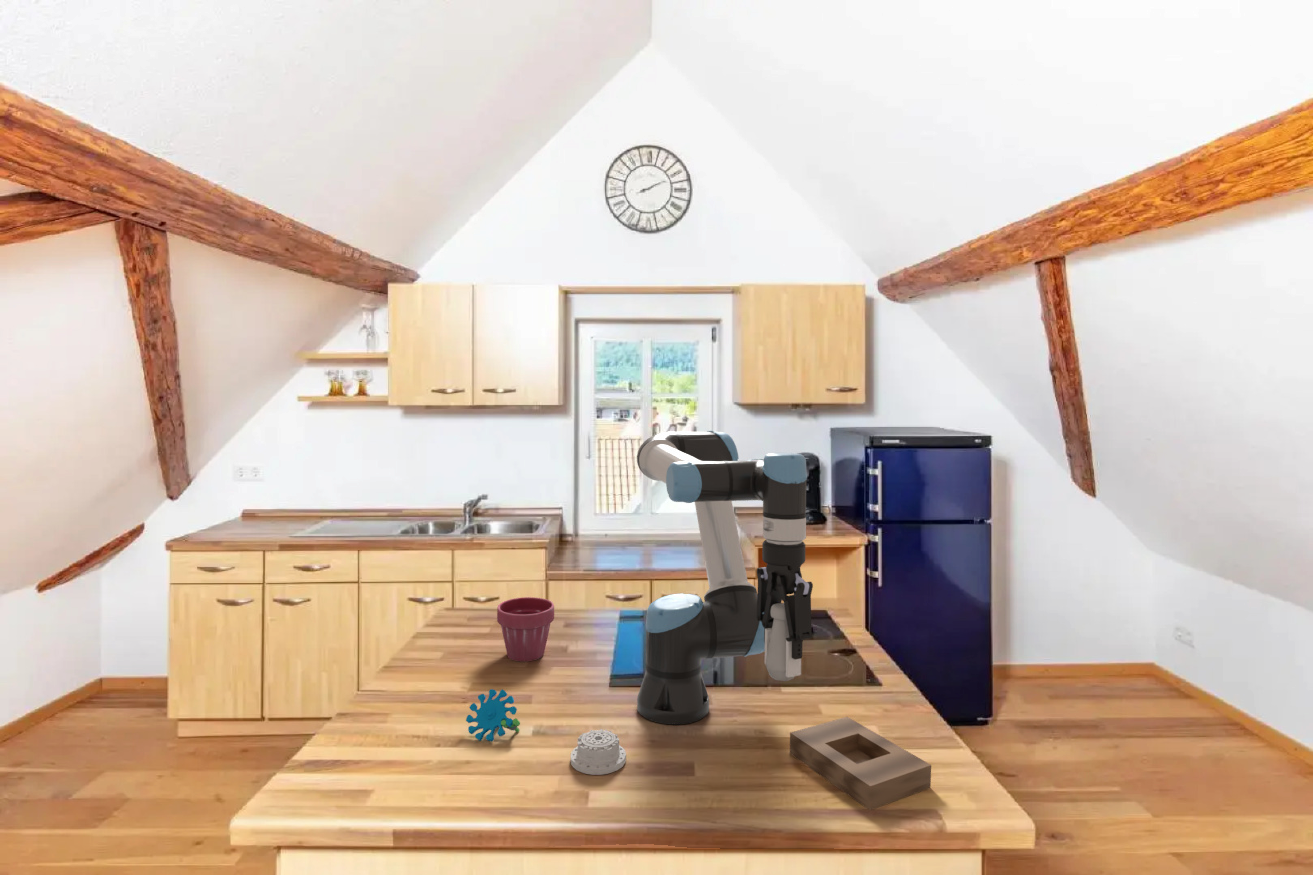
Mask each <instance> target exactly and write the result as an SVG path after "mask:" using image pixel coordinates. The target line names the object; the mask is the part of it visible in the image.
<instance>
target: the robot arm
mask: <svg viewBox="0 0 1313 875" xmlns="http://www.w3.org/2000/svg"><path fill="white" fill-rule="evenodd" d="M636 464H637V466H638V467H637V468H638V469H639V470H640V472H641V473H642V474H643V475H644V476H646V477H647V478H648V479H651V480H653V481H658V482H659V481H661V482H663V483H664V484H666V492H667V495H668V497H669V499H670V500H671V501H672V502H675V503H686V504H690V503H694V505H695V506H694V507H695V512H696V516H697V523H698V528H699V535H700V541H701V546H702V552H703V559H704V563H705V569H706V576H707V580H708V590H707V591H706V592H705V593H704V596H703V599H704V600H703V599H702V598H701V597H700V596H699V595H697V594H693V593H686V594H685V593H682V592H681V593H673V594H668V595H664V596H661V597H659V598H657V599H655V600H654V601H652V602H651V603H650V604H649V605H648V608H647V610H646V618H645V626H644V627H645V673H644V676H643V679H642V681H641V684H640V688H639V691H638V693H637V699H636V701H637V702H636V703H637V704H636V710H637V713H639V715H640V716H641V717H643V718H644V719H646V720H649V721H651V722H653V723H657V724H665V725H685V724H691V723H694V722H695V723H696V722H698V721H700V720H702V719H703V718H705V717H706V716H707V715H708V714H709V712H710V711H709V710H710V698H709V694H708V691H707V688H706V684H705V682H704V681H705V680H704V677H703V675H702V660H706V659H707V660H708V659H720V658H731V657H744V658H745V657H746V658H747V657H748V656H753V655H754V656H755V655H759V654H762V653H764V665H765V666H766V658H767V652H768V647H769V642H770V637H771V631H772V626H773V621H774V618H772V617H771V612H770V611H771V607H772V605H774V604H776V603H782V601H783V603H784V606H785V613H786V619H787V626H788V632H789V638H786V677H788V678H789V677H794V678H795V677H797V676H801V675H802V658H803V642H804V640H810V639H812V596H811V595H812V591H813V588H814V587H813V586H814V585H813V582H812V581H806V580H804V579H803V575H802V571H801V566H802V565H804V564H805V562H806V543H805V542H804V541H805V539H806V538H807V534H806V533H807V516H806V515H807V514H806V512H807V486H808V484H807V482H808V481H807V479H808V472H807V460H806V457H805V456H804V455H803V454H801V453H793V452H772V453H771V452H770V453H766V455H765V456H764V457H763V458H759V459H758V458H757V459H756V458H754V459H753V458H752V459H748V460H739V453H738V449H737V446H736V443H735V441H734V440H733V438H732V437H731V436H730V434H728V433H726V432H724V431H713V430H707V431H665V432H660V433H657V434H654V435H652V436H649V438H647V439H645V440H644V441H643V443H641V445H640V446H639V447H638V451H637V455H636ZM737 501H738V502H743V501H745V502H746V501H747V502H748V501H761V502H762V519H763V520H762V537H763V539H765V540H763V542H761V544H762V546H761V548H762V552H761V553H762V554H761V555H762V556H761V557H762V561H763V563H765V564H766V567H765V566H764V567H757V568H756V577H757V587H756V586H755V585H753V584H751V583H750V582H749V581H748V576H747V571H746V566H745V562H744V561H745V560H744V556H743V551H742V546H741V541H740V537H739V530H738V526H737V520H736V516H735V511H734V507H733V502H737Z"/></svg>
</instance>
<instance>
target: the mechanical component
mask: <svg viewBox="0 0 1313 875" xmlns="http://www.w3.org/2000/svg"><path fill="white" fill-rule="evenodd" d="M612 732H613V731H612V730H609V731H608V729H602V728H600V729H599V730H598V729H597V730H593V729H590V730H589V731H588V732H583V733H581V734H580V735H579V737H577V741H576V742H577V746H576V747H574V748H573V750H571V753H570V765H571V766H572V768H573V769H574V770H576V771H577V772H580V773H582V774H587V775H592V776H593V775H595V776H596V775H597V776H603V775H608V774H611V773H614V772H616V771H618V770H620V769H622V768H623V767H624V765H625V764H626V762H627V752H626V750H625V748H624V747H623V746H621V745H620V739H619V738H620V737H618V734H615V733H612Z"/></svg>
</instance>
